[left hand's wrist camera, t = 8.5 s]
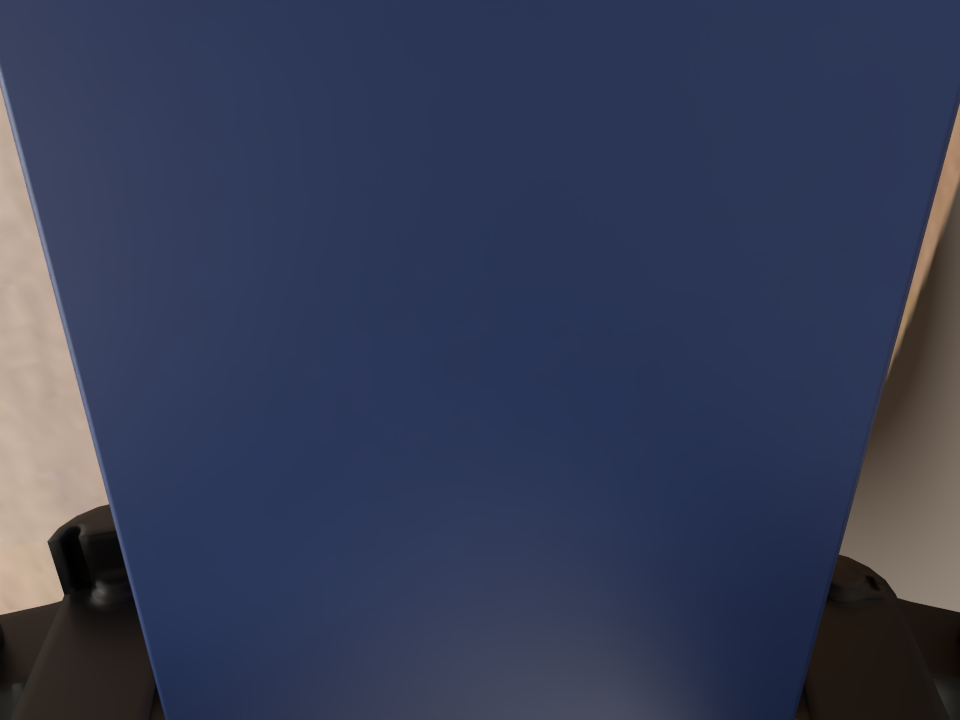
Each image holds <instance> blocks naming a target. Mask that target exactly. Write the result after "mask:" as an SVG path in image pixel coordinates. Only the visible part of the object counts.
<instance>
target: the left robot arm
mask: <svg viewBox="0 0 960 720" xmlns="http://www.w3.org/2000/svg"><path fill="white" fill-rule="evenodd" d="M47 542H48V545H49V548H50V551H51V554H52V557H53V560H54V564H55V567H56V570H57V573H58V576H59V579H60V582H61V586H62V589H63V592H64V598H63V600H62V601H60V602H56V603H53V604H49V605H45V606H40V607H35V608H31V609H26V610H22V611H17V612H12V613H8V614H3V615H0V720H166V719H165V716H164V712H163V708H162V704H161V700H160V696H159V693H158V689H157V685H156V681H155V677H154V673H153V670H152V666H151V662H150V658H149V654H148V650H147V647H146V643H145V639H144V635H143V631H142V627H141V624H140V620H139V616H138V612H137V608H136V604H135V601H134V597H133V593H132V589H131V585H130V581H129V578H128V574H127V570H126V566H125V562H124V558H123V555H122V551H121V547H120V543H119V539H118V535H117V532H116V528H115V524H114V520H113V516H112V512H111V509H110V505H105V506H100V507H97V508H95V509H92V510H90V511H88V512H85V513H83V514H81V515H78V516H76V517H75V518H73V519H72V520H70V521H69V522H67V523H66V524H64V525H63V526H61V527H60V528H58V530H57V531H56V532H55V533H54V534H53V536H52V537H51V538H50V539H49V540H48V541H47ZM794 720H960V612H955V611H951V610H946V609H942V608H937V607H932V606H928V605H923V604H918V603H914V602H909V601H906V600H902V599H899V598H897V596H896V594H895V593H894V591H893V590H892V589H891V587H890V586H889V584H888V583H887V582H886V580H885V579H883V578H882V577H881V576H879V575H878V574H877V573H876V572H874V571H873V570H872V569H870V568H869V567H867V566H865V565H863V564H861V563H859V562H857V561H855V560H853V559H851V558H849V557H846V556H842V555H838V559H837V562H836V566H835V570H834V574H833V577H832V581H831V585H830V589H829V592H828V596H827V600H826V603H825V607H824V611H823V615H822V618H821V622H820V626H819V630H818V633H817V637H816V641H815V644H814V648H813V652H812V656H811V659H810V663H809V667H808V671H807V674H806V678H805V682H804V685H803V689H802V693H801V697H800V700H799V704H798V708H797V712H796V715H795V719H794Z"/></svg>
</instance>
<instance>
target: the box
mask: <svg viewBox="0 0 960 720" xmlns="http://www.w3.org/2000/svg"><path fill="white" fill-rule="evenodd" d="M0 87H1V91H2V95H3V98H4V102H5V106H6V110H7V114H8V118H9V121H10V125H11V129H12V133H13V137H14V141H15V144H16V148H17V152H18V156H19V160H20V164H21V167H22V171H23V175H24V179H25V183H26V187H27V190H28V194H29V198H30V202H31V206H32V210H33V213H34V217H35V221H36V225H37V229H38V233H39V236H40V240H41V244H42V248H43V252H44V256H45V259H46V263H47V267H48V271H49V275H50V279H51V282H52V286H53V290H54V294H55V298H56V302H57V305H58V309H59V313H60V317H61V321H62V325H63V328H64V332H65V336H66V340H67V344H68V348H69V351H70V355H71V359H72V363H73V367H74V371H75V374H76V378H77V382H78V386H79V390H80V394H81V397H82V401H83V405H84V409H85V413H86V417H87V420H88V424H89V428H90V432H91V436H92V440H93V443H94V447H95V451H96V455H97V459H98V463H99V466H100V470H101V474H102V478H103V482H104V486H105V489H106V493H107V497H108V501H109V505H110V509H111V512H112V516H113V520H114V524H115V528H116V532H117V535H118V539H119V543H120V547H121V551H122V555H123V558H124V562H125V566H126V570H127V574H128V578H129V581H130V585H131V589H132V593H133V597H134V601H135V604H136V608H137V612H138V616H139V620H140V624H141V627H142V631H143V635H144V639H145V643H146V647H147V650H148V654H149V658H150V662H151V666H152V670H153V673H154V677H155V681H156V685H157V689H158V693H159V696H160V700H161V704H162V708H163V712H164V716H165V719H166V720H794V719H795V715H796V712H797V708H798V704H799V700H800V697H801V693H802V689H803V685H804V682H805V678H806V674H807V671H808V667H809V663H810V659H811V656H812V652H813V648H814V644H815V641H816V637H817V633H818V630H819V626H820V622H821V618H822V615H823V611H824V607H825V603H826V600H827V596H828V592H829V589H830V585H831V581H832V577H833V574H834V570H835V566H836V562H837V559H838V555H839V551H840V547H841V544H842V540H843V536H844V533H845V529H846V525H847V521H848V518H849V514H850V510H851V506H852V503H853V499H854V495H855V491H856V488H857V484H858V480H859V477H860V473H861V469H862V466H863V462H864V458H865V454H866V450H867V447H868V443H869V439H870V436H871V432H872V428H873V424H874V421H875V417H876V413H877V410H878V406H879V402H880V398H881V394H882V391H883V387H884V383H885V380H886V376H887V372H888V369H889V365H890V361H891V357H892V354H893V350H894V346H895V343H896V339H897V335H898V331H899V328H900V324H901V320H902V316H903V313H904V309H905V305H906V302H907V298H908V294H909V290H910V287H911V283H912V279H913V275H914V272H915V268H916V264H917V261H918V257H919V253H920V249H921V246H922V242H923V238H924V234H925V231H926V227H927V223H928V219H929V216H930V212H931V208H932V205H933V201H934V197H935V193H936V190H937V186H938V182H939V178H940V175H941V171H942V167H943V164H944V160H945V156H946V152H947V149H948V145H949V141H950V137H951V134H952V130H953V126H954V123H955V119H956V115H957V111H958V108H959V104H960V0H0Z"/></svg>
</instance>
